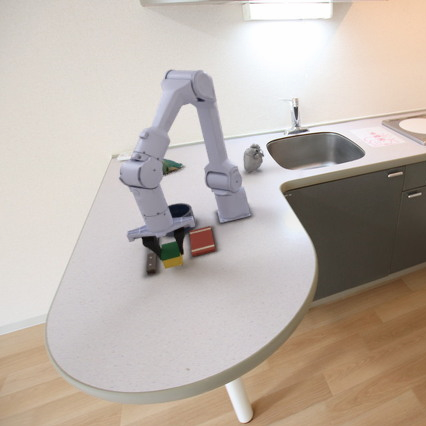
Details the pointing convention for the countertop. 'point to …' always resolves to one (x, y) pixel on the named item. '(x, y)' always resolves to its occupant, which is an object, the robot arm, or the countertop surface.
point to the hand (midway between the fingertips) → (172, 255)
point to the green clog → (169, 165)
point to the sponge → (171, 255)
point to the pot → (181, 214)
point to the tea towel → (202, 241)
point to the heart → (253, 158)
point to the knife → (151, 262)
